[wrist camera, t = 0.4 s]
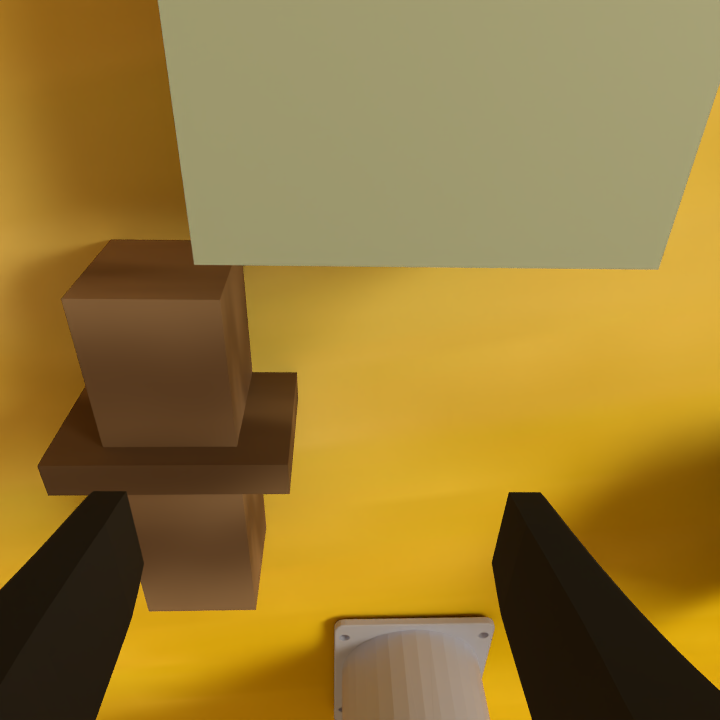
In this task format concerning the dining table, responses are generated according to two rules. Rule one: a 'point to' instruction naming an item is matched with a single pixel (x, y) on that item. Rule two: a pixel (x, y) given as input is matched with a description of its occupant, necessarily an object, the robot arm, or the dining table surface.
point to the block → (438, 129)
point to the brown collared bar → (175, 420)
